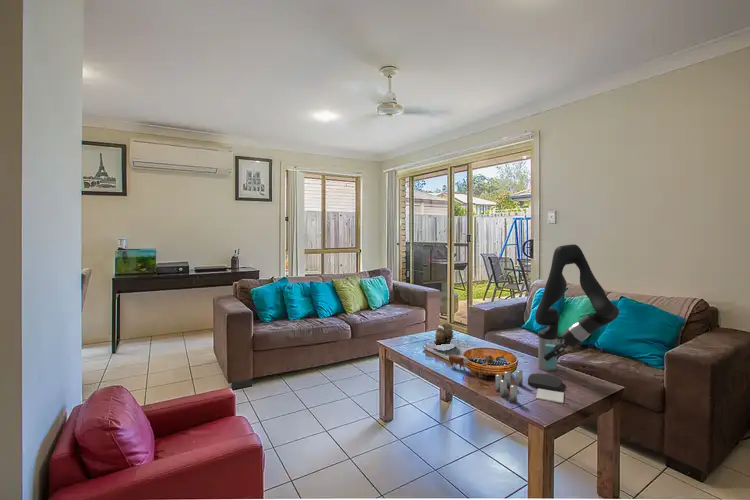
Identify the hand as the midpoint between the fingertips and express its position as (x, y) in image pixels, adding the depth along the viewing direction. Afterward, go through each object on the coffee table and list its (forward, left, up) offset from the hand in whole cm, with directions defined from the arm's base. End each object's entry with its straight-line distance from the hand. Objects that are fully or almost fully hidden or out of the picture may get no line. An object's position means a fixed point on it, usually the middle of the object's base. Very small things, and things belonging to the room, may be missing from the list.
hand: (545, 357), depth 170 cm
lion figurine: (-14, -30, -18) cm, 37 cm away
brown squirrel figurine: (-49, -63, -18) cm, 82 cm away
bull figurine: (-15, -44, -18) cm, 50 cm away
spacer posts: (+3, -16, -18) cm, 24 cm away
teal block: (0, +2, -4) cm, 5 cm away
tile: (0, +2, -18) cm, 18 cm away
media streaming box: (-14, -1, -18) cm, 23 cm away
